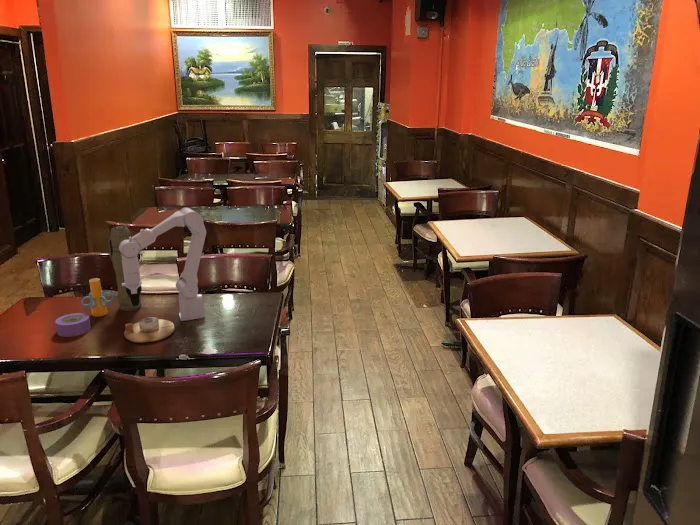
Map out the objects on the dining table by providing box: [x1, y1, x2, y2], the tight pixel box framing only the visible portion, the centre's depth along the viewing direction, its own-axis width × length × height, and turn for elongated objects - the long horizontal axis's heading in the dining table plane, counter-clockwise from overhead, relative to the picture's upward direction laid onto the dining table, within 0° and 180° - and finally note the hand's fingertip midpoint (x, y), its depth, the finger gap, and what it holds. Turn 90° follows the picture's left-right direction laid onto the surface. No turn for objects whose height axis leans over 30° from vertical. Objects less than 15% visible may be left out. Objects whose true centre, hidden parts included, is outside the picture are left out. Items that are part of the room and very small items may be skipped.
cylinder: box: [80, 277, 115, 318], centre depth 230 cm, size 12×10×15 cm
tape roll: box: [54, 312, 92, 338], centre depth 217 cm, size 12×12×5 cm
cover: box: [138, 316, 159, 333], centre depth 213 cm, size 7×7×4 cm
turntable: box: [123, 318, 175, 343], centre depth 214 cm, size 18×18×4 cm
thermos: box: [107, 225, 142, 312], centre depth 234 cm, size 9×12×35 cm
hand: (135, 305), depth 216 cm, fingers closed
